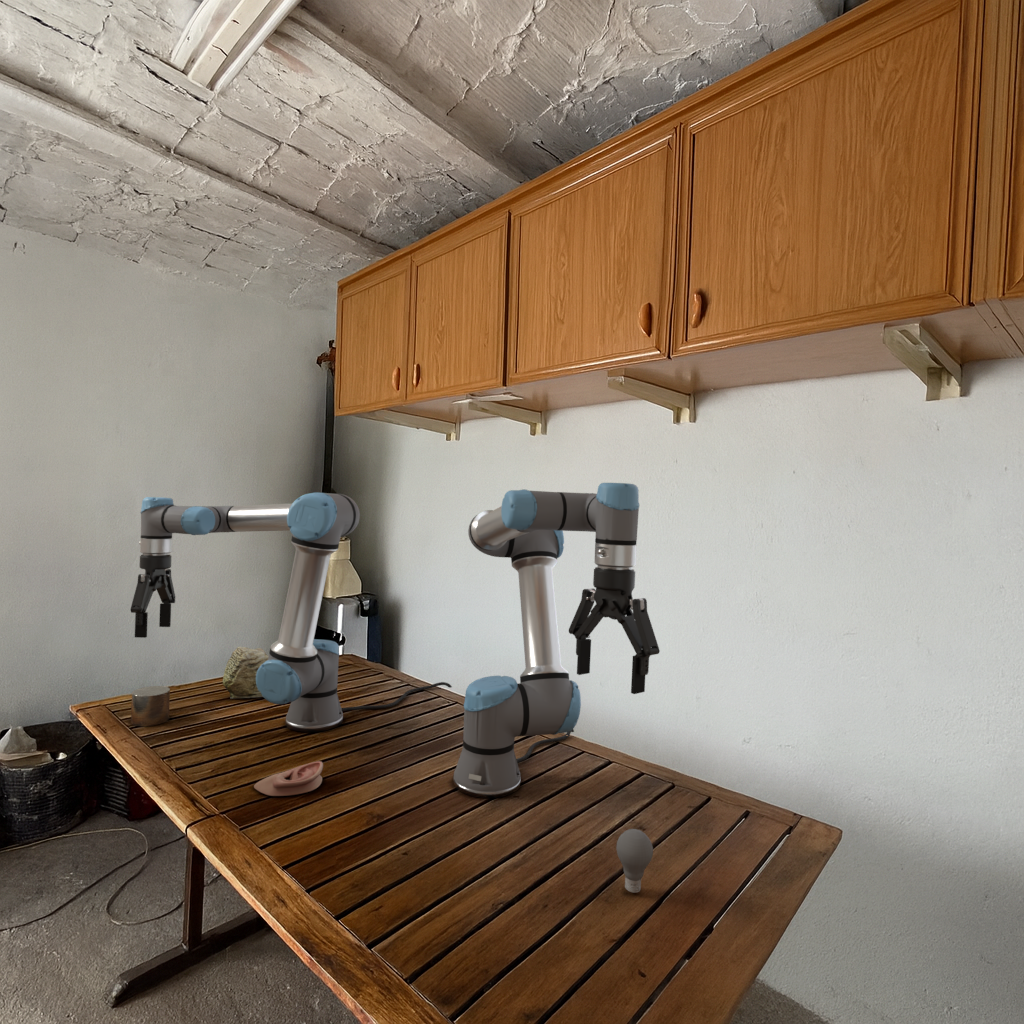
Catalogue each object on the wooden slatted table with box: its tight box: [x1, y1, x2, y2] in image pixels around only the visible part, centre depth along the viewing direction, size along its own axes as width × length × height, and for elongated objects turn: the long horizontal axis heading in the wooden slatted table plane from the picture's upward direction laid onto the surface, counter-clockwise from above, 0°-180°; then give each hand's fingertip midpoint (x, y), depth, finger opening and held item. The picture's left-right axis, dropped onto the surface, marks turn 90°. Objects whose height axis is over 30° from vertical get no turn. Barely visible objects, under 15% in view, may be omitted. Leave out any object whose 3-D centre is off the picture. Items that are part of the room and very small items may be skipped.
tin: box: [130, 685, 171, 727], centre depth 173 cm, size 9×9×8 cm
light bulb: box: [615, 828, 654, 894], centre depth 106 cm, size 6×6×10 cm
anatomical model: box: [253, 760, 324, 797], centre depth 138 cm, size 13×4×12 cm
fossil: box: [222, 646, 269, 699], centre depth 198 cm, size 9×18×15 cm, turn 132°
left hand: (153, 631), depth 172 cm, fingers open, 13 cm apart
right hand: (609, 682), depth 116 cm, fingers open, 13 cm apart
